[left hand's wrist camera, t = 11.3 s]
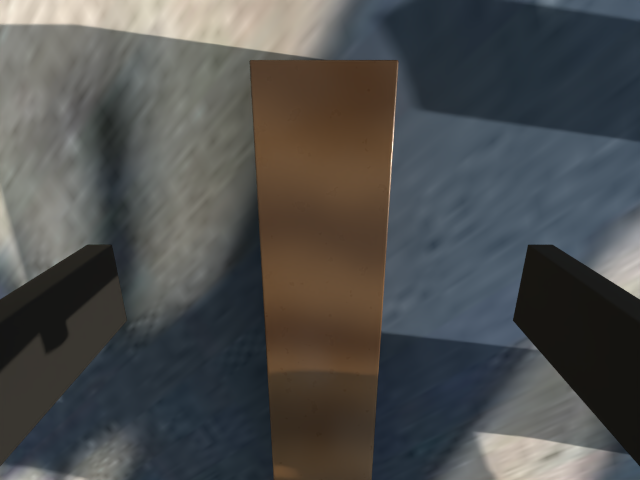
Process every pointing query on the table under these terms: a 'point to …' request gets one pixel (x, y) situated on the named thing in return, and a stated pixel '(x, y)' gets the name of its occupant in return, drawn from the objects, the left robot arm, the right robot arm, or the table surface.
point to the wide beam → (323, 255)
